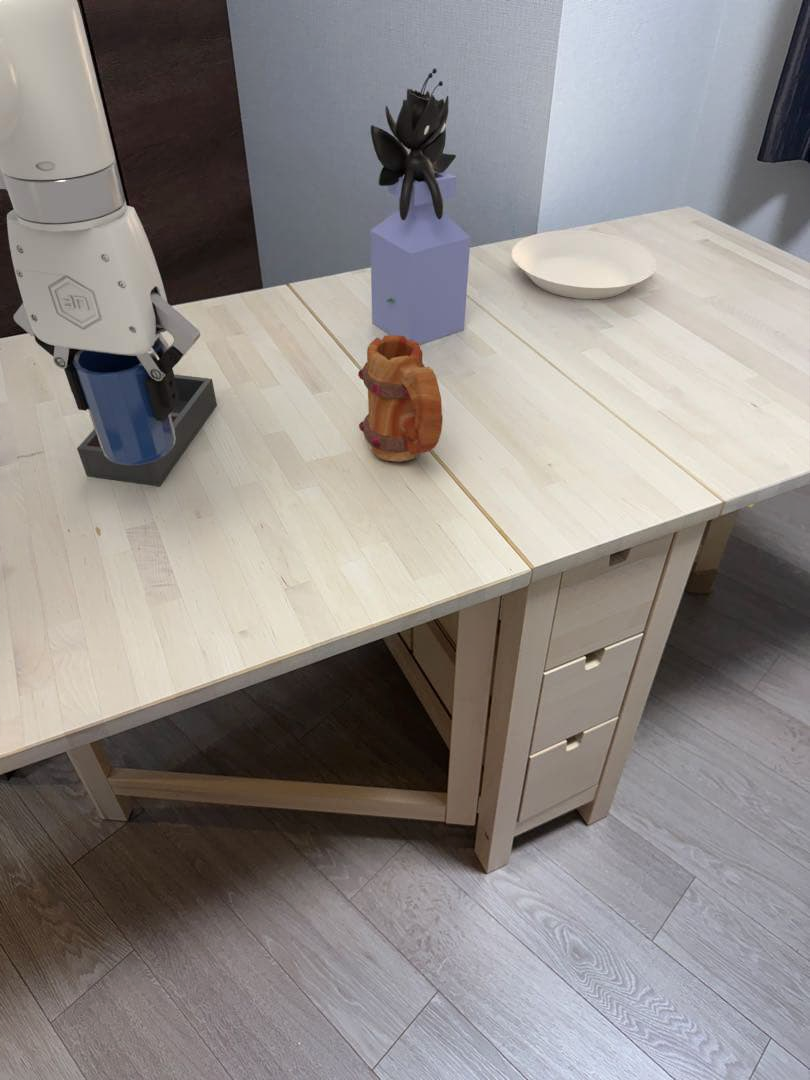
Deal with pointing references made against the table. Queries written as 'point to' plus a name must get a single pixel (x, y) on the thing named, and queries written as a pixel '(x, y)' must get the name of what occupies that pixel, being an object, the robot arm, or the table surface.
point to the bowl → (583, 263)
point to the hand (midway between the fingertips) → (128, 405)
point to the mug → (400, 400)
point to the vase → (418, 227)
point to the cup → (122, 408)
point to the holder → (187, 422)
